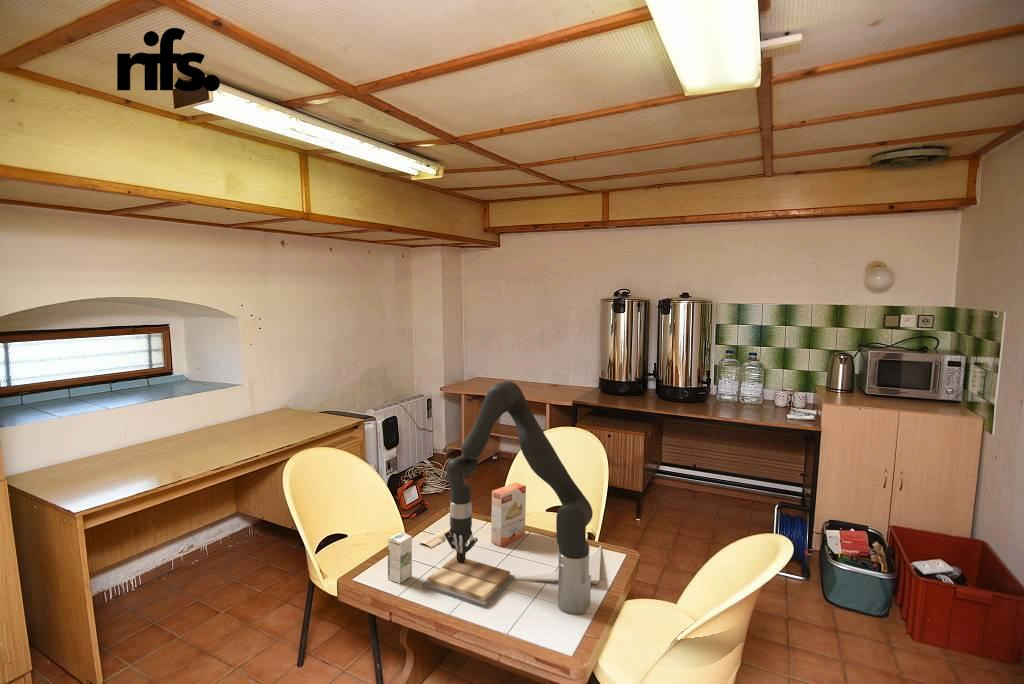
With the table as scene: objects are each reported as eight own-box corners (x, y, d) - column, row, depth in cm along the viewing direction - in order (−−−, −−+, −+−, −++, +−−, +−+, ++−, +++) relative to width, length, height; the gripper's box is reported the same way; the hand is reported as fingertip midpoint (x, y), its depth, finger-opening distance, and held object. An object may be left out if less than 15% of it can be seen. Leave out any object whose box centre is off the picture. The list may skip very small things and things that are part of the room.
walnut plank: (509, 575, 172) (509, 571, 172) (497, 588, 166) (497, 583, 165) (456, 559, 183) (455, 555, 183) (442, 570, 176) (442, 566, 176)
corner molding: (509, 583, 173) (599, 585, 168) (509, 578, 174) (599, 580, 168) (524, 549, 203) (601, 550, 197) (524, 545, 203) (601, 545, 197)
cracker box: (501, 548, 195) (501, 494, 194) (490, 542, 199) (490, 490, 198) (526, 536, 205) (526, 485, 204) (515, 531, 210) (515, 481, 208)
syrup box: (399, 572, 178) (399, 531, 176) (412, 576, 174) (412, 535, 173) (387, 579, 173) (387, 537, 172) (400, 584, 170) (400, 542, 168)
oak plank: (497, 589, 165) (497, 584, 165) (484, 601, 158) (484, 596, 158) (441, 571, 176) (441, 567, 176) (427, 582, 169) (427, 577, 169)
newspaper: (458, 524, 217) (458, 520, 217) (471, 528, 213) (471, 524, 213) (419, 546, 198) (419, 541, 198) (432, 551, 194) (432, 546, 194)
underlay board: (514, 579, 173) (514, 575, 173) (484, 608, 157) (484, 604, 157) (456, 561, 185) (456, 558, 185) (422, 586, 168) (422, 583, 168)
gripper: (483, 513, 178) (482, 561, 179) (451, 505, 184) (451, 552, 185) (471, 521, 171) (470, 571, 172) (438, 513, 177) (439, 561, 179)
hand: (460, 561), depth 179 cm, fingers closed
